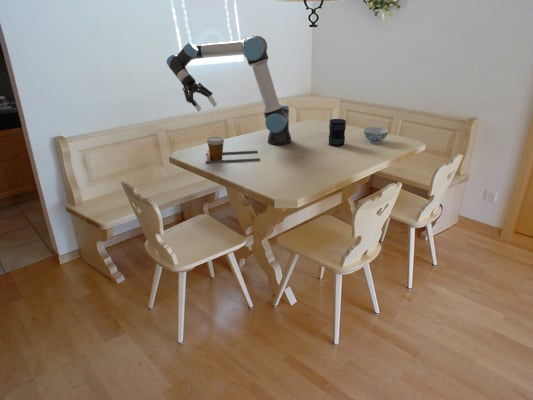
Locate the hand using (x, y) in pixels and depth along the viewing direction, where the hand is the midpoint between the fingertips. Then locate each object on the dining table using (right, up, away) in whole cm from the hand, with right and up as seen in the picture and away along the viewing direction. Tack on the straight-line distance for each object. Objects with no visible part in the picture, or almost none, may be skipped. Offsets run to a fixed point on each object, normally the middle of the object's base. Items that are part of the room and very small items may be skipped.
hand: (208, 107), depth 227 cm
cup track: (+14, -29, -2) cm, 32 cm away
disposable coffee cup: (+6, -31, -5) cm, 31 cm away
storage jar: (+77, -19, +18) cm, 81 cm away
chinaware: (+102, -17, +21) cm, 105 cm away
